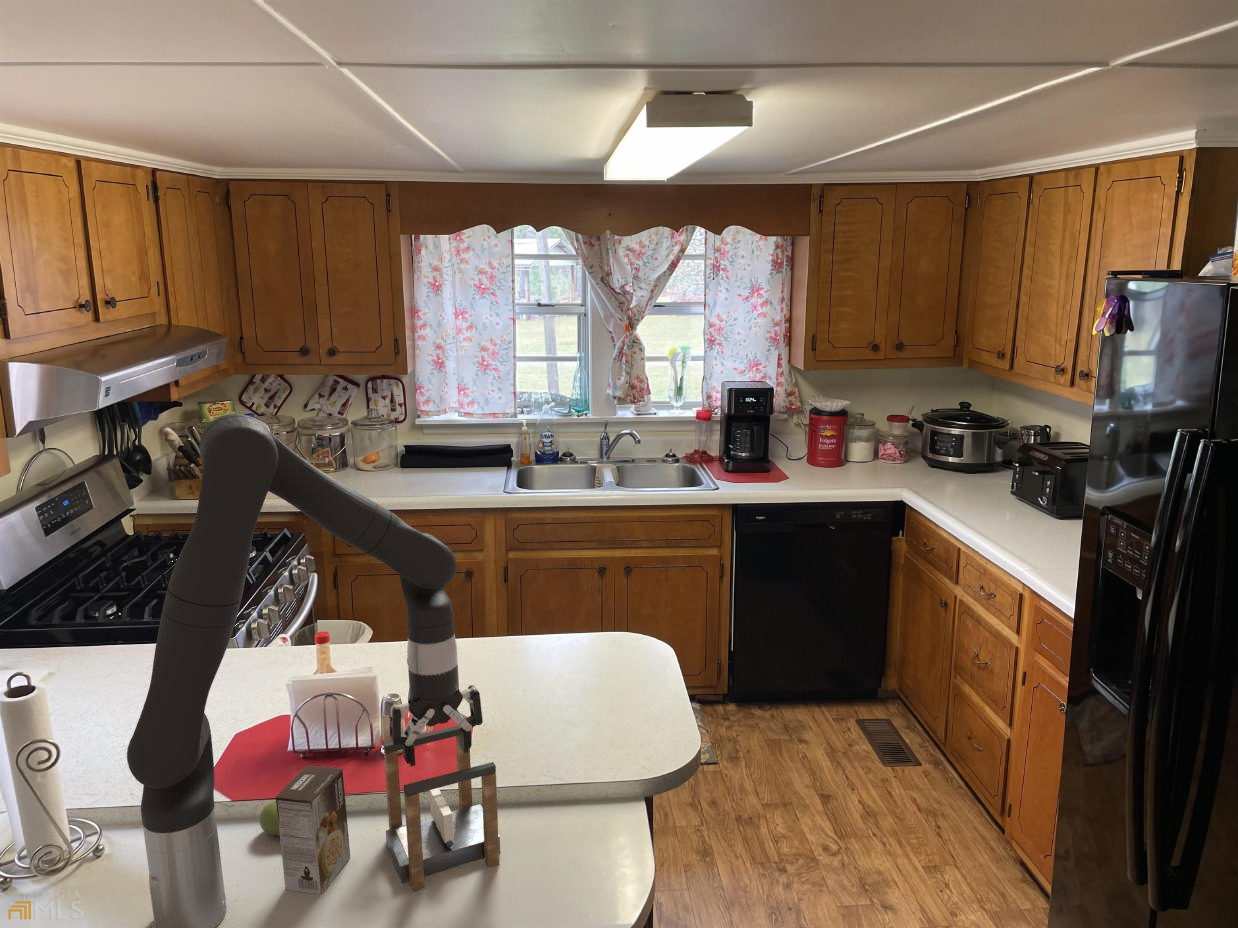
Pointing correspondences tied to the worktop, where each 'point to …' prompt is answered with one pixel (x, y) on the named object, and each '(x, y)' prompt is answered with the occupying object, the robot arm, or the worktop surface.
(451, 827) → the bar
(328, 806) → the coffee box
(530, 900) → the worktop surface
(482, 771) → the grey crossbeam plank
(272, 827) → the green eggplant
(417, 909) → the worktop surface
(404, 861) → the breaker panel
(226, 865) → the worktop surface
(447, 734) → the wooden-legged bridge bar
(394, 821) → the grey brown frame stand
